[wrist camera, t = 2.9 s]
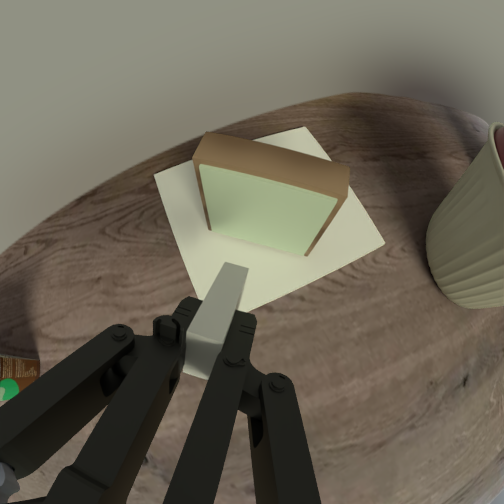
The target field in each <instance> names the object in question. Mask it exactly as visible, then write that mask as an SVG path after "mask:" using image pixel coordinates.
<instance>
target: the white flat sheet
mask: <svg viewBox="0 0 504 504" xmlns="http://www.w3.org/2000/svg"><path fill="white" fill-rule="evenodd" d="M253 141H258V142H262V143H266V144H271V145H275V146H279V147H283V148H287V149H290V150H294V151H298V152H302V153H305V154H309V155H312V156H316V157H319V158H322V159H326V160H329V161H331V159H330V158H329V157H328V155H327V154H326V153H325V151H324V150H323V149H322V147H321V146H320V145H319V144H318V142H317V141H316V140H315V138H314V137H313V136H312V135H311V133H310V132H309V131H308V130H307V128H306V127H302V128H297V129H293V130H289V131H285V132H281V133H277V134H273V135H270V136H266V137H262V138H259V139H255V140H253ZM154 177H155V180H156V183H157V187H158V190H159V193H160V196H161V199H162V202H163V205H164V208H165V211H166V214H167V217H168V219H169V222H170V225H171V228H172V231H173V234H174V236H175V239H176V242H177V245H178V247H179V250H180V253H181V255H182V258H183V261H184V263H185V266H186V269H187V271H188V274H189V276H190V279H191V281H192V284H193V286H194V289H195V291H196V294H197V296H198V299H199V300H204V298H205V297H206V295H207V293H208V291H209V289H210V288H211V286H212V284H213V282H214V280H215V278H216V277H217V275H218V273H219V271H220V270H221V268H222V266H223V264H224V262H228V263H232V264H236V265H239V266H243V267H246V268H249V271H248V275H247V279H246V283H245V287H244V291H243V295H242V299H241V303H240V306H239V309H238V310H239V311H243V312H248V311H251V310H253V309H255V308H257V307H260V306H262V305H264V304H266V303H268V302H271V301H273V300H275V299H277V298H279V297H281V296H284V295H286V294H288V293H290V292H292V291H294V290H296V289H298V288H300V287H302V286H305V285H307V284H309V283H311V282H313V281H315V280H317V279H319V278H321V277H323V276H325V275H327V274H329V273H331V272H333V271H335V270H337V269H339V268H341V267H343V266H345V265H347V264H349V263H351V262H352V261H354V260H356V259H358V258H360V257H362V256H364V255H366V254H368V253H370V252H371V251H373V250H375V249H377V248H379V247H381V246H383V245H384V244H385V242H384V240H383V238H382V237H381V235H380V233H379V232H378V230H377V228H376V227H375V225H374V223H373V222H372V220H371V218H370V217H369V215H368V214H367V212H366V210H365V209H364V207H363V206H362V204H361V203H360V201H359V200H358V198H357V197H356V195H355V194H354V192H353V191H352V189H351V188H350V186H349V187H348V197H347V199H346V200H345V202H344V203H343V205H342V206H341V208H340V209H339V211H338V212H337V214H336V216H335V217H334V219H333V220H332V222H331V223H330V225H329V226H328V228H327V229H326V230H325V232H324V233H323V235H322V236H321V238H320V239H319V241H318V242H317V244H316V245H315V247H314V248H313V250H312V251H311V252H310V254H309V255H308V257H307V256H301V255H298V254H294V253H290V252H287V251H283V250H279V249H276V248H272V247H268V246H265V245H261V244H257V243H253V242H250V241H246V240H242V239H239V238H235V237H231V236H227V235H224V234H220V233H216V232H212V231H210V230H208V226H207V222H206V218H205V213H204V209H203V205H202V200H201V196H200V192H199V187H198V183H197V178H196V173H195V169H194V164H193V160H190V161H188V162H185V163H182V164H180V165H177V166H174V167H172V168H169V169H167V170H164V171H162V172H159V173H157V174H154Z"/></svg>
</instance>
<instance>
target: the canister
mask: <svg viewBox="0 0 504 504" xmlns="http://www.w3.org/2000/svg"><path fill="white" fill-rule="evenodd" d="M426 251H427V259H428V263H429V264H428V265H429V267H430V269H431V273H432V275H433V277H434V280H435V281H436V283H437V285H438V287H439V288H440V289H441V291H442V293H443V294H445V295H446V297H447V298H448V299H450V300H451V301H452V302H453V303H455V304H457V305H459V306H461V307H465V308H468V309H481V308H490V307H498V306H504V124H502V123H499V122H495V123H492V124H491V125H490V127H489V130H488V141H487V142H486V144H485V145H484V146H483V148H482V149H481V150H480V152H479V153H478V155H477V156H476V158H475V159H474V160H473V162H472V163H471V165H470V166H469V167H468V169H467V170H466V171H465V173H464V174H463V175H462V176H461V178H460V179H459V180H458V182H457V183H456V184H455V186H454V187H453V188H452V190H451V191H450V192H449V194H448V195H447V196H446V198H445V199H444V200H443V201H442V203H441V204H440V205H439V207H438V208H437V210H436V211H435V212H434V214H433V215H432V218H431V220H430V222H429V225H428V230H427V232H426Z"/></svg>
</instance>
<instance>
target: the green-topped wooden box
mask: <svg viewBox="0 0 504 504" xmlns="http://www.w3.org/2000/svg"><path fill="white" fill-rule="evenodd" d="M192 159H193V164H194V169H195V173H196V178H197V183H198V187H199V192H200V196H201V200H202V205H203V209H204V213H205V218H206V222H207V226H208V230H210V231H212V232H216V233H220V234H224V235H227V236H231V237H235V238H239V239H242V240H246V241H250V242H253V243H257V244H261V245H265V246H268V247H272V248H276V249H279V250H283V251H287V252H290V253H294V254H298V255H301V256H307V257H308V255H309V254H310V252H311V251H312V250H313V248H314V247H315V245H316V244H317V242H318V241H319V239H320V238H321V236H322V235H323V233H324V232H325V230H326V229H327V228H328V226H329V225H330V223H331V222H332V220H333V219H334V217H335V216H336V214H337V212H338V211H339V209H340V208H341V206H342V205H343V203H344V202H345V200H346V199H347V197H348V187H349V176H350V167H348V166H345V165H342V164H339V163H335V162H332V161H329V160H326V159H322V158H319V157H316V156H312V155H309V154H305V153H302V152H298V151H294V150H290V149H287V148H283V147H279V146H275V145H271V144H266V143H262V142H258V141H253V140H248V139H244V138H239V137H234V136H229V135H223V134H218V133H212V132H206V133H205V134H204V136H203V138H202V140H201V142H200V144H199V145H198V147H197V149H196V151H195V153H194V155H193V157H192Z"/></svg>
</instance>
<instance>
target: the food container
mask: <svg viewBox="0 0 504 504" xmlns="http://www.w3.org/2000/svg"><path fill="white" fill-rule="evenodd" d="M39 375H40V360H36V359H29V358H22V357H16V356H10V355H4V354H0V401H3V400H9V399H11V398H13V397H14V396H15V395H17V394H18V393H19V392H21V391H22V390H23V389H25V388H26V387H27V386H29V385H30V384H31V383H33V382H34V381H35V380H37V379H38V378H39Z"/></svg>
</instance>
